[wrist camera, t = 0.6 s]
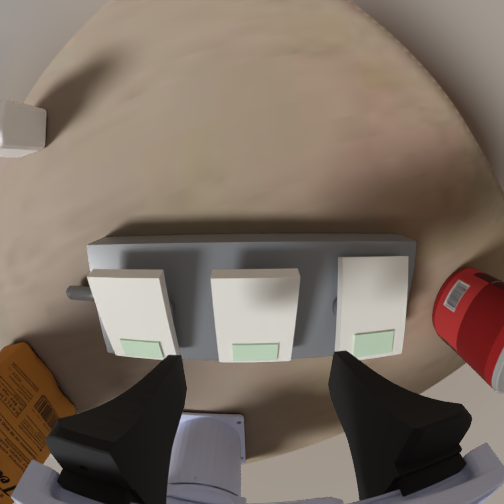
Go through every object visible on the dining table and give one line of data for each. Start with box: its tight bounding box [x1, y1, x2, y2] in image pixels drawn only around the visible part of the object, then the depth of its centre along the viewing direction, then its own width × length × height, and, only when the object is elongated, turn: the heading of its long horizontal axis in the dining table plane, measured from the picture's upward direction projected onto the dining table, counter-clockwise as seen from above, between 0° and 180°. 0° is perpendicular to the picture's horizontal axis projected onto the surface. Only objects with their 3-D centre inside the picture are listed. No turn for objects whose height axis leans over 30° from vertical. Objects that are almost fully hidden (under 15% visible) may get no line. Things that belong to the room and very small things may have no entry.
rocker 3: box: [332, 256, 408, 360], centre depth 18 cm, size 7×5×2 cm
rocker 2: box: [211, 268, 300, 362], centre depth 18 cm, size 7×5×2 cm
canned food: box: [432, 268, 504, 394], centre depth 18 cm, size 8×8×11 cm
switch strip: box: [66, 233, 417, 360], centre depth 21 cm, size 9×28×3 cm, turn 90°
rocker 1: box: [87, 269, 180, 360], centre depth 18 cm, size 7×5×2 cm
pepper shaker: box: [0, 99, 47, 157], centre depth 14 cm, size 4×4×10 cm
